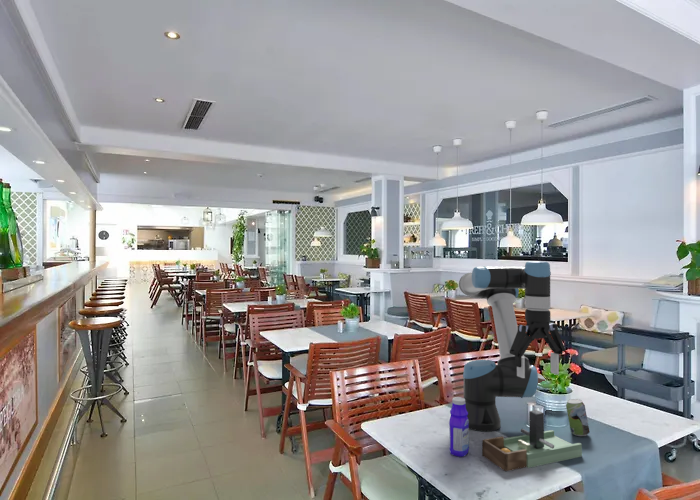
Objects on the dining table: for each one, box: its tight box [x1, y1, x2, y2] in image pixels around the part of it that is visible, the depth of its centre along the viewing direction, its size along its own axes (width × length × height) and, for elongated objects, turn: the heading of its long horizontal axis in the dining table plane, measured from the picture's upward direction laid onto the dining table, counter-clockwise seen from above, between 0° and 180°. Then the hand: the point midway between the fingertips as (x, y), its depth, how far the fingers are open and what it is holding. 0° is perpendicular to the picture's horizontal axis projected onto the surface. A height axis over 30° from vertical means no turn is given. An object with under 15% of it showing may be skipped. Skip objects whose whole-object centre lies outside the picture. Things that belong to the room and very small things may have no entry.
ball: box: [501, 448, 511, 453], centre depth 133 cm, size 4×4×4 cm
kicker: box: [518, 409, 554, 451], centre depth 137 cm, size 7×13×11 cm, turn 20°
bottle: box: [448, 396, 470, 458], centre depth 139 cm, size 7×6×17 cm
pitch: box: [504, 429, 583, 469], centre depth 138 cm, size 22×12×4 cm, turn 110°
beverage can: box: [565, 398, 590, 437], centre depth 154 cm, size 6×7×12 cm
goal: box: [481, 435, 527, 472], centre depth 133 cm, size 8×11×5 cm
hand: (537, 375), depth 139 cm, fingers open, 13 cm apart
